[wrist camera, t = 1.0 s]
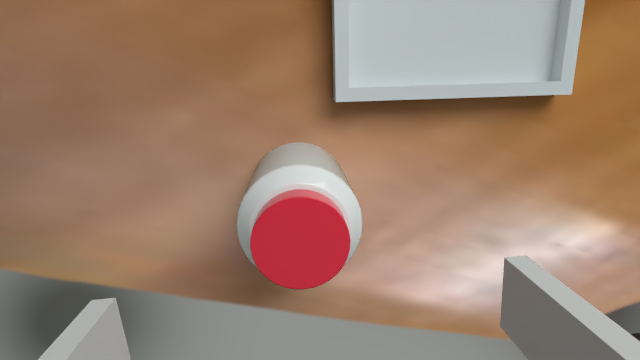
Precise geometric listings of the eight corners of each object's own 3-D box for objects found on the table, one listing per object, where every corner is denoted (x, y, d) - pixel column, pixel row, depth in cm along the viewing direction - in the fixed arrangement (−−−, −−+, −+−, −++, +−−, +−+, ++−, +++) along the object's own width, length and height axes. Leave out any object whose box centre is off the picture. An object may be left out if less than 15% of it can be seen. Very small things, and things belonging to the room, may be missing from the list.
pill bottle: (364, 183, 31) (399, 237, 21) (303, 249, 32) (307, 331, 22) (293, 121, 30) (293, 145, 19) (232, 193, 31) (198, 252, 20)
